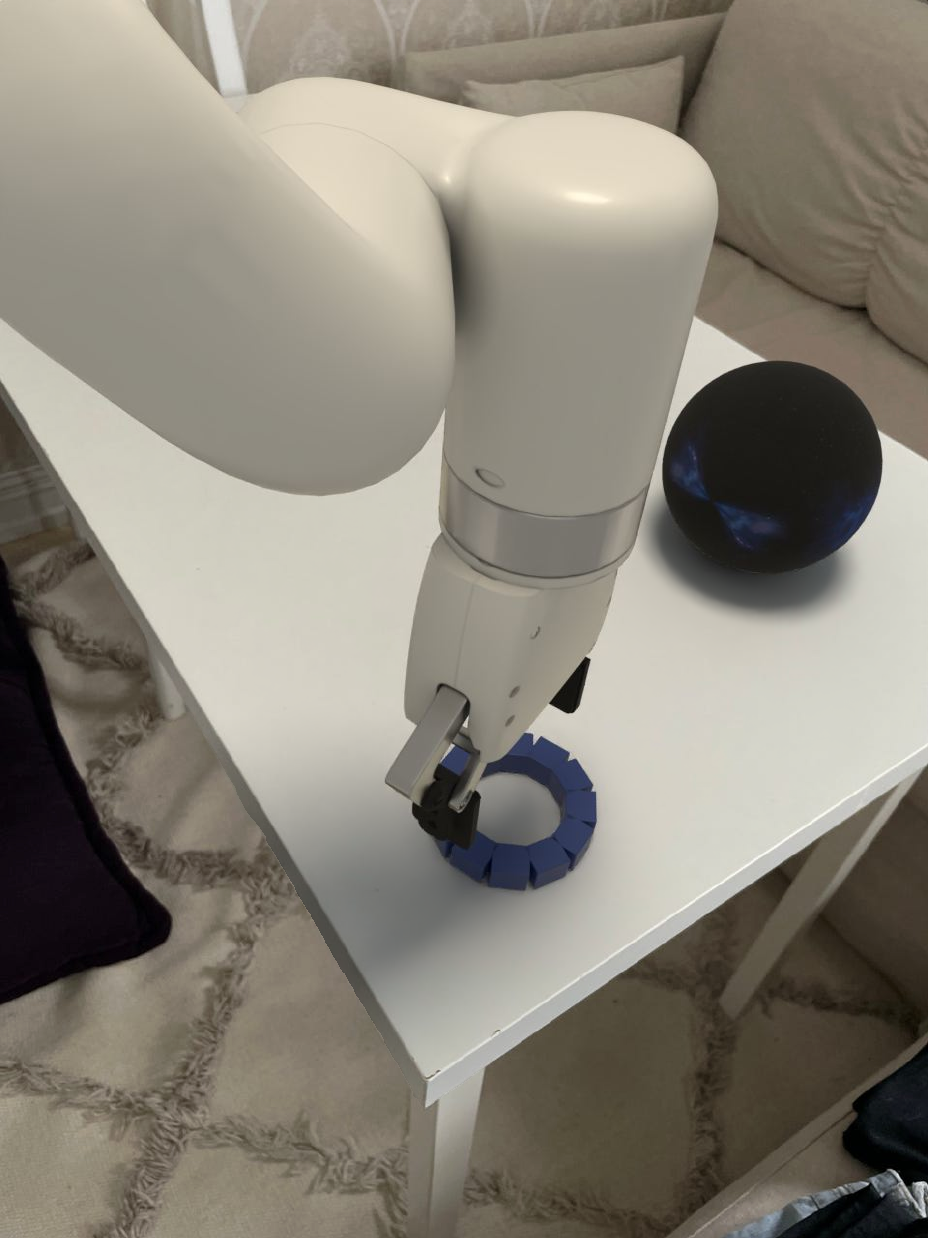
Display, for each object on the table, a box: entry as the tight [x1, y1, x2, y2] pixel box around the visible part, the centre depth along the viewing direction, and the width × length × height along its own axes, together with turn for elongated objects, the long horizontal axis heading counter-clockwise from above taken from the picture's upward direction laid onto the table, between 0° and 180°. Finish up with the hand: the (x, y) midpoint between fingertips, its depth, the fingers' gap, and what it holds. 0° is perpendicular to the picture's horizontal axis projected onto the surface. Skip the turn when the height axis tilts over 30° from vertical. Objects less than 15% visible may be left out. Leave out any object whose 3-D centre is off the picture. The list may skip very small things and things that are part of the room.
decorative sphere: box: [661, 360, 884, 574], centre depth 71 cm, size 15×15×15 cm
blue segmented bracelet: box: [433, 732, 598, 891], centre depth 57 cm, size 10×10×2 cm
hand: (499, 760), depth 49 cm, fingers open, 9 cm apart
